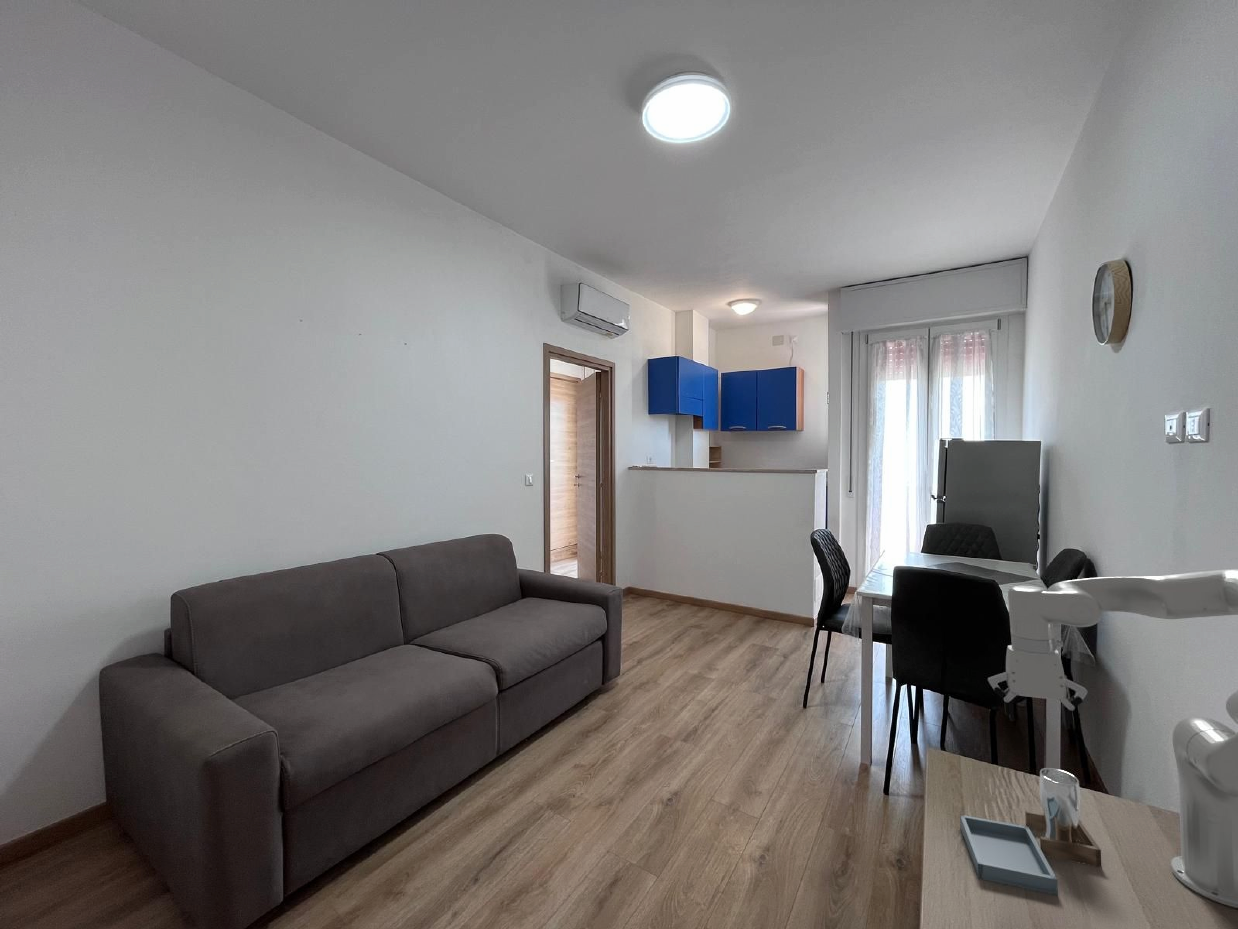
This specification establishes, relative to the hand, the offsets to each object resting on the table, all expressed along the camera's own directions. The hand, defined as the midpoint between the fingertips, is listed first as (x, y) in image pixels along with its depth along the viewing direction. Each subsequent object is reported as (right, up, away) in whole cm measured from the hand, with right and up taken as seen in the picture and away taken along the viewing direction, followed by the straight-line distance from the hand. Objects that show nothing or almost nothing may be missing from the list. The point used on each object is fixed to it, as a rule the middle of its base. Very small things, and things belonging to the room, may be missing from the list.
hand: (1038, 722), depth 117 cm
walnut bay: (+4, -26, -1) cm, 27 cm away
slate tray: (-10, -27, -4) cm, 29 cm away
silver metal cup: (+4, -27, -1) cm, 27 cm away
